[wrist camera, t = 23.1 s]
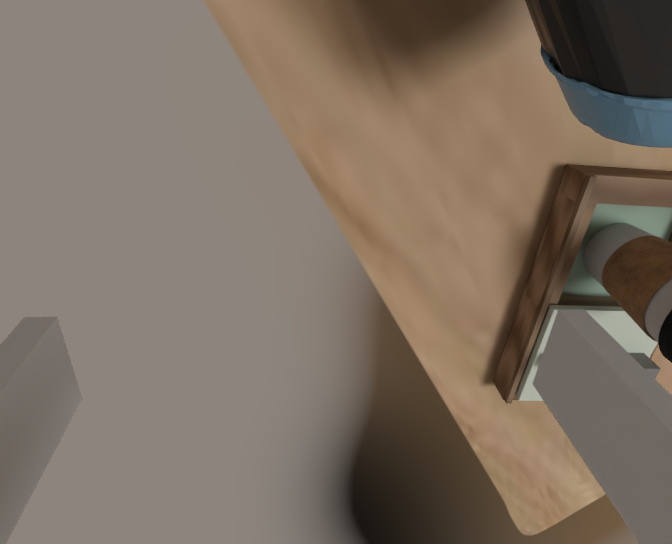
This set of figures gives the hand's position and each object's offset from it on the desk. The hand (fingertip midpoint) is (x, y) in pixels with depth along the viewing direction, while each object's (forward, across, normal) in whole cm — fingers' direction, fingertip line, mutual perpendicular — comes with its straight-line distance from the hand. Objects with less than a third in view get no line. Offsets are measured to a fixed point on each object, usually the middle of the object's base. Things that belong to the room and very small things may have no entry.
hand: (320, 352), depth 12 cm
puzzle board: (+29, +31, -16) cm, 45 cm away
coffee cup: (+28, +31, -11) cm, 44 cm away
